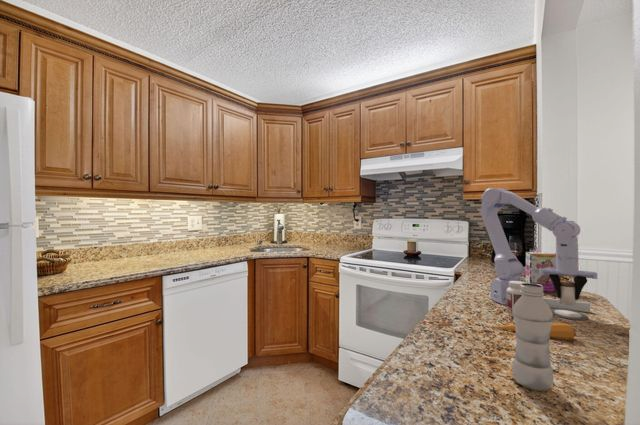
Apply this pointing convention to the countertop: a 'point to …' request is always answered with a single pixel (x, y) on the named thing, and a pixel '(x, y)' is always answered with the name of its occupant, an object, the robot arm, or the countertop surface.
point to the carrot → (553, 331)
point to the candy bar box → (533, 269)
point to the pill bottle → (513, 295)
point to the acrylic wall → (556, 304)
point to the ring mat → (569, 314)
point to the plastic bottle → (532, 339)
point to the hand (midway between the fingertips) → (567, 298)
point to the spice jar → (567, 293)
